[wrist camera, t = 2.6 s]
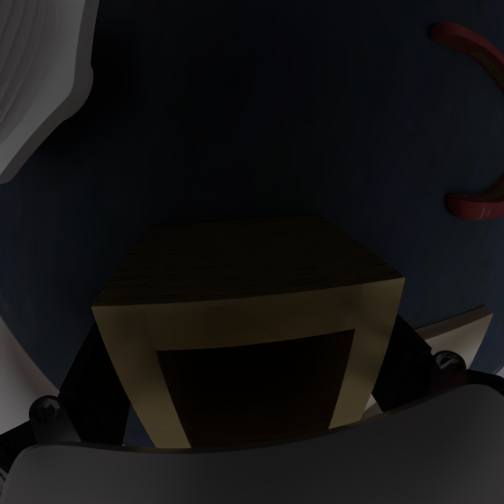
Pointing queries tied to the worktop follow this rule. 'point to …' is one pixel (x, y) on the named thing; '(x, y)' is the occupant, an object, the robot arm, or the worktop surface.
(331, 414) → the hollow wooden cube
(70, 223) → the worktop surface
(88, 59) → the pipe fitting
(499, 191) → the pliers
